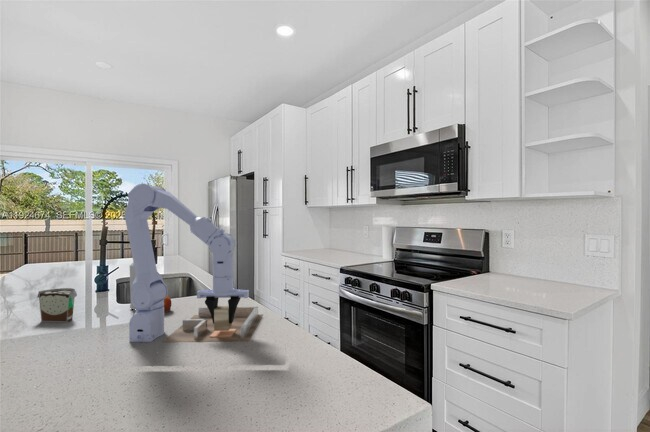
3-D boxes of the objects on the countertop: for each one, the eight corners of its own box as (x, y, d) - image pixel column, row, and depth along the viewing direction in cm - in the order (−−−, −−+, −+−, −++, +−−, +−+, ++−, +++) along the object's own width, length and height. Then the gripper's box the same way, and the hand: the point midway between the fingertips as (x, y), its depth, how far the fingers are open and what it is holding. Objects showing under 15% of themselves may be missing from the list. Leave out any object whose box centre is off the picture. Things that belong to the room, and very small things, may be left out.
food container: (86, 316, 115) (86, 288, 115) (71, 322, 109) (71, 292, 109) (54, 315, 116) (54, 287, 116) (37, 321, 110) (37, 291, 110)
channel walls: (244, 338, 92) (244, 327, 92) (172, 339, 92) (172, 328, 92) (258, 315, 113) (258, 306, 113) (199, 315, 113) (199, 307, 113)
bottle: (138, 310, 122) (138, 243, 122) (126, 310, 123) (126, 243, 123) (148, 306, 127) (148, 242, 127) (137, 306, 128) (136, 242, 128)
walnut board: (248, 344, 90) (248, 341, 90) (161, 345, 90) (161, 342, 90) (263, 317, 114) (263, 314, 114) (194, 317, 114) (194, 315, 114)
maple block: (228, 330, 94) (228, 309, 94) (214, 330, 94) (214, 309, 94) (232, 325, 98) (231, 305, 98) (218, 326, 98) (218, 305, 98)
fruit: (170, 314, 113) (158, 294, 113) (150, 326, 113) (138, 306, 113) (180, 307, 121) (169, 288, 121) (162, 318, 121) (151, 299, 121)
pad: (230, 337, 93) (230, 336, 93) (209, 337, 93) (209, 336, 93) (236, 329, 99) (236, 328, 99) (216, 330, 99) (216, 329, 99)
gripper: (251, 273, 100) (251, 317, 100) (202, 273, 100) (203, 318, 100) (245, 277, 93) (246, 325, 93) (194, 277, 93) (194, 326, 93)
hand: (223, 322), depth 96 cm, fingers closed on maple block, 4 cm apart
